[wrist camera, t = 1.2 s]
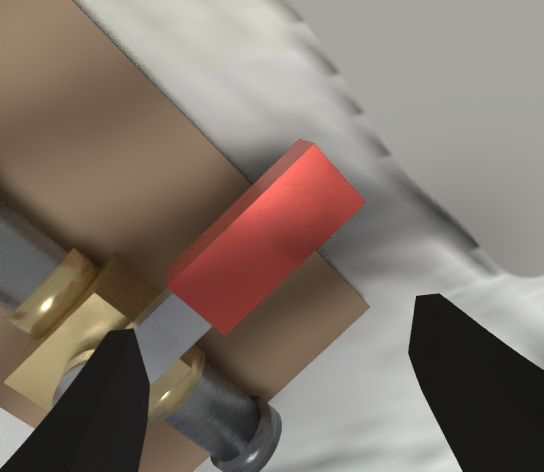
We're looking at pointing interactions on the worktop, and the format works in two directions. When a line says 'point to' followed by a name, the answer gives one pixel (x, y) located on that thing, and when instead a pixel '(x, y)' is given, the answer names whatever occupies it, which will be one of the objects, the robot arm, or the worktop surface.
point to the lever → (240, 258)
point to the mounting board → (137, 202)
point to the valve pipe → (116, 316)
